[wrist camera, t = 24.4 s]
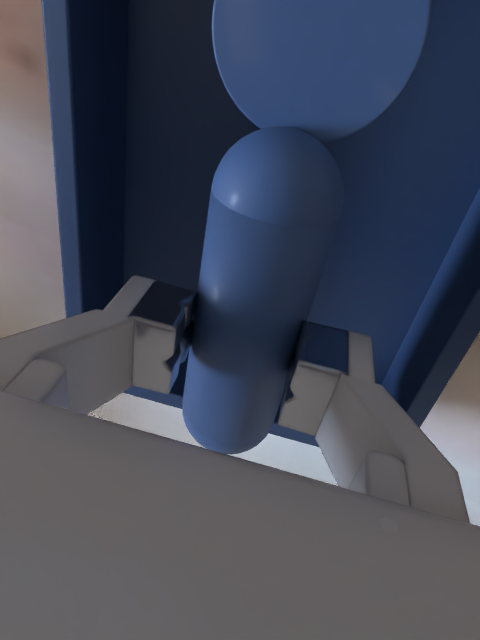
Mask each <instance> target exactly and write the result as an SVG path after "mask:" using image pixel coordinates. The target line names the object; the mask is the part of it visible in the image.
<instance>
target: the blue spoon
mask: <svg viewBox="0 0 480 640" xmlns="http://www.w3.org/2000/svg"><path fill="white" fill-rule="evenodd" d="M431 7H432V0H214V4H213V11H212V42H213V48H214V55H215V59H216V63H217V67H218V70H219V73H220V76H221V78H222V81H223V83H224V86H225V87H226V89H227V91H228V93H229V95H230V97H231V98H232V100H233V101H234V103H235V104H236V105H237V107H238V108H239V109H240V110H241V112H242V113H243V114H244V115H245V116H246V117H247V118H248V119H249V120H250V121H251V122H253V123H254V124H255V125H256V126H257V127H259V128H261V129H260V130H257V131H253V132H252V133H250V134H248V135H246V136H244V137H243V138H241V139H240V140H238V141H237V142H236V143H235V144H234V145H233V146H232V147H231V148H229V150H228V151H227V153H226V154H225V155H224V157H223V158H222V159H221V161H220V164H219V166H218V168H217V170H216V172H215V174H214V178H213V182H212V187H211V194H210V202H209V209H208V217H207V224H206V231H205V239H204V246H203V253H202V261H201V268H200V276H199V283H198V290H197V292H198V300H197V308H196V312H195V314H194V320H193V321H194V330H193V337H192V343H191V346H190V349H189V357H188V364H187V371H186V379H185V386H184V394H183V401H182V407H183V417H184V421H185V424H186V426H187V428H188V430H189V432H190V433H191V435H192V436H193V437H194V438H195V440H196V441H197V442H198V443H199V444H201V445H202V446H203V447H205V448H207V449H209V450H212V451H216V452H219V453H223V454H238V453H242V452H245V451H248V450H250V449H252V448H253V447H255V446H257V445H258V444H259V443H260V442H261V441H262V440H263V439H264V438H265V437H266V436H267V434H268V433H269V431H270V430H271V428H272V425H273V423H274V420H275V417H276V414H277V411H278V408H279V405H280V402H281V399H282V396H283V393H284V385H285V380H286V375H287V371H288V368H289V364H290V361H291V358H292V355H293V353H294V351H295V349H296V345H297V339H298V336H299V333H300V330H301V326H302V323H303V320H305V321H307V318H308V315H309V312H310V309H311V306H312V303H313V300H314V297H315V294H316V291H317V287H318V284H319V281H320V278H321V275H322V272H323V269H324V266H325V263H326V260H327V257H328V253H329V250H330V247H331V244H332V241H333V238H334V235H335V232H336V229H337V226H338V223H339V219H340V216H341V212H342V207H343V202H344V186H343V181H342V176H341V172H340V169H339V167H338V165H337V162H336V160H335V158H334V157H333V156H332V154H331V153H330V152H329V150H328V149H327V148H326V146H324V145H323V144H322V143H329V142H333V141H337V140H341V139H343V138H346V137H348V136H351V135H353V134H355V133H357V132H359V131H361V130H362V129H364V128H366V127H367V126H369V125H370V124H371V123H373V122H374V121H376V120H377V119H378V118H379V117H380V116H382V115H383V114H384V113H385V112H386V111H387V110H388V109H389V108H390V107H391V106H392V105H393V103H394V102H395V101H396V100H397V99H398V98H399V96H400V95H401V94H402V92H403V91H404V89H405V88H406V86H407V85H408V83H409V82H410V80H411V78H412V76H413V74H414V72H415V71H416V69H417V66H418V64H419V61H420V59H421V57H422V54H423V51H424V47H425V44H426V41H427V37H428V32H429V26H430V21H431Z"/></svg>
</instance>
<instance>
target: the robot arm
mask: <svg viewBox="0 0 480 640" xmlns="http://www.w3.org/2000/svg"><path fill="white" fill-rule="evenodd" d="M197 300H198V292H196V291H193V290H189V289H185V288H182V287H178V286H175V285H171V284H168V283H164V282H161V281H156V280H154V279H150V278H146V277H142V276H138V275H135V276H132V277H131V278H130V279H129V280H128V282H127V283H126V284H125V285H124V286H123V287H122V289H121V290H120V291H119V292H118V293H117V294H116V296H115V297H114V298H113V299H112V300H111V301H110V303H109V304H108V305H107V306H106V307H105V308H104V310H99V309H95V310H91V311H88V312H85V313H82V314H78V315H75V316H72V317H69V318H65V319H62V320H59V321H56V322H52V323H49V324H46V325H43V326H40V327H36V328H33V329H30V330H27V331H23V332H20V333H17V334H14V335H10V336H7V337H4V338H1V339H0V640H480V526H477V525H473V524H470V521H469V517H468V513H467V509H466V505H465V501H464V496H463V492H462V488H461V484H460V480H459V476H458V472H457V471H456V469H455V468H454V467H453V466H452V465H451V464H450V463H449V461H448V460H447V459H446V458H445V457H444V456H443V455H442V453H441V452H440V451H439V450H438V449H437V448H436V446H435V445H434V444H433V443H432V442H431V441H430V440H429V438H428V437H427V436H426V435H425V434H424V433H423V432H422V430H421V429H420V428H419V427H418V426H417V425H416V424H415V422H414V421H413V420H412V419H411V418H410V417H409V416H408V414H407V413H406V412H405V411H404V410H403V409H402V407H401V406H400V405H399V404H398V403H397V402H396V401H395V399H394V398H393V397H392V396H391V395H390V394H389V393H388V391H387V390H386V389H385V388H384V387H383V386H382V385H380V384H377V383H375V373H374V361H373V348H372V338H371V336H370V335H366V334H362V333H357V332H353V331H348V330H343V329H339V328H335V327H330V326H326V325H322V324H318V323H313V322H309V321H305V320H303V323H302V326H301V330H300V333H299V336H298V339H297V345H296V349H295V351H294V353H293V355H292V358H291V361H290V364H289V368H288V371H287V375H286V380H285V385H284V390H285V393H284V396H283V399H282V402H281V408H280V414H279V420H278V425H280V426H284V427H287V428H290V429H294V430H297V431H300V432H303V433H307V434H310V435H313V436H316V437H315V439H316V441H317V443H318V445H319V447H320V449H321V451H322V453H323V455H324V457H325V459H326V461H327V463H328V465H329V467H330V469H331V472H332V474H333V476H334V478H335V480H336V482H337V484H338V486H335V485H332V484H328V483H325V482H321V481H318V480H314V479H311V478H307V477H304V476H300V475H297V474H293V473H290V472H286V471H283V470H279V469H276V468H272V467H269V466H265V465H262V464H258V463H255V462H251V461H248V460H244V459H241V458H237V457H234V456H230V455H226V454H223V453H219V452H216V451H212V450H209V449H205V448H202V447H198V446H195V445H191V444H187V443H184V442H180V441H177V440H173V439H170V438H166V437H163V436H159V435H156V434H152V433H148V432H145V431H141V430H138V429H134V428H131V427H127V426H124V425H120V424H117V423H113V422H110V421H106V420H102V419H99V418H95V417H92V416H88V415H86V414H88V413H90V412H91V411H93V410H94V409H96V408H98V407H99V406H101V405H103V404H104V403H106V402H108V401H109V400H111V399H113V398H114V397H116V396H118V395H119V394H121V393H122V392H124V391H126V390H127V389H129V388H131V385H133V386H137V387H141V388H145V389H149V390H153V391H157V392H161V393H165V394H169V392H170V390H171V388H172V386H173V384H174V382H175V380H176V378H177V376H178V372H179V365H180V364H181V363H183V362H184V361H185V359H186V357H187V355H188V352H189V349H190V346H191V343H192V337H193V330H194V321H193V319H192V318H193V316H194V314H195V312H196V308H197Z"/></svg>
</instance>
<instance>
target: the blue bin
mask: <svg viewBox="0 0 480 640" xmlns="http://www.w3.org/2000/svg"><path fill="white" fill-rule="evenodd" d="M213 4H214V0H42V13H43V25H44V38H45V51H46V64H47V77H48V90H49V103H50V116H51V128H52V141H53V154H54V167H55V180H56V193H57V206H58V219H59V231H60V244H61V257H62V270H63V283H64V296H65V309H66V318H69V317H72V316H75V315H78V314H82V313H85V312H88V311H91V310H95V309H99V310H104V308H105V307H106V306H107V305H108V304H109V303H110V301H111V300H112V299H113V298H114V297H115V296H116V294H117V293H118V292H119V291H120V290H121V289H122V287H123V286H124V285H125V284H126V283H127V282H128V280H129V279H130V278H131V277H132V276H135V275H138V276H142V277H146V278H150V279H154V280H156V281H161V282H164V283H168V284H171V285H175V286H178V287H182V288H185V289H189V290H193V291H196V292H197V290H198V283H199V276H200V268H201V261H202V253H203V246H204V239H205V231H206V224H207V217H208V209H209V202H210V194H211V187H212V182H213V178H214V174H215V172H216V170H217V168H218V166H219V164H220V161H221V159H222V158H223V157H224V155H225V154H226V153H227V151H228V150H229V148H231V147H232V146H233V145H234V144H235V143H236V142H237V141H238V140H240V139H241V138H243V137H244V136H246V135H248V134H250V133H252V132H253V131H257V130H260V129H261V128H259V127H257V126H256V125H255V124H254V123H253V122H251V121H250V120H249V119H248V118H247V117H246V116H245V115H244V114H243V113H242V112H241V110H240V109H239V108H238V107H237V105H236V104H235V103H234V101H233V100H232V98H231V97H230V95H229V93H228V91H227V89H226V87H225V86H224V83H223V81H222V78H221V76H220V73H219V70H218V67H217V63H216V59H215V55H214V48H213V42H212V11H213ZM322 144H323V145H324V146H326V148H327V149H328V150H329V152H330V153H331V154H332V156H333V157H334V158H335V160H336V162H337V165H338V167H339V169H340V172H341V176H342V181H343V186H344V202H343V207H342V212H341V216H340V219H339V223H338V226H337V229H336V232H335V235H334V238H333V241H332V244H331V247H330V250H329V253H328V257H327V260H326V263H325V266H324V269H323V272H322V275H321V278H320V281H319V284H318V287H317V291H316V294H315V297H314V300H313V303H312V306H311V309H310V312H309V315H308V318H307V321H309V322H313V323H318V324H322V325H326V326H330V327H335V328H339V329H343V330H348V331H353V332H357V333H362V334H366V335H370V336H371V338H372V348H373V361H374V373H375V383H377V384H380V385H382V386H383V387H384V388H385V389H386V390H387V391H388V393H389V394H390V395H391V396H392V397H393V398H394V399H395V401H396V402H397V403H398V404H399V405H400V406H401V407H402V409H403V410H404V411H405V412H406V413H407V414H408V416H409V417H410V418H411V419H412V420H413V421H414V422H415V424H416V425H417V426H418V427H419V428H420V426H421V425H422V423H423V421H424V420H425V418H426V417H427V415H428V413H429V412H430V410H431V409H432V407H433V405H434V404H435V402H436V401H437V399H438V397H439V396H440V394H441V393H442V391H443V389H444V388H445V386H446V385H447V383H448V381H449V380H450V378H451V376H452V375H453V373H454V372H455V370H456V368H457V367H458V365H459V364H460V362H461V360H462V359H463V357H464V356H465V354H466V352H467V351H468V349H469V348H470V346H471V344H472V343H473V341H474V340H475V338H476V336H477V335H478V333H479V331H480V0H432V7H431V21H430V26H429V32H428V37H427V41H426V44H425V47H424V51H423V54H422V57H421V59H420V61H419V64H418V66H417V69H416V71H415V72H414V74H413V76H412V78H411V80H410V82H409V83H408V85H407V86H406V88H405V89H404V91H403V92H402V94H401V95H400V96H399V98H398V99H397V100H396V101H395V102H394V103H393V105H392V106H391V107H390V108H389V109H388V110H387V111H386V112H385V113H384V114H383V115H382V116H380V117H379V118H378V119H377V120H376V121H374V122H373V123H371V124H370V125H369V126H367V127H366V128H364V129H362V130H361V131H359V132H357V133H355V134H353V135H351V136H348V137H346V138H343V139H341V140H337V141H333V142H329V143H322ZM192 319H193V320H194V316H193V318H192ZM188 357H189V352H188V355H187V357H186V359H185V361H184V362H183V363H181V364H180V365H179V372H178V376H177V378H176V380H175V382H174V384H173V386H172V388H171V390H170V392H169V394H165V393H161V392H157V391H153V390H149V389H145V388H141V387H137V386H133V385H131V388H129V389H127V390H126V391H124V392H123V393H127V394H130V395H134V396H137V397H141V398H145V399H148V400H152V401H155V402H159V403H163V404H166V405H170V406H173V407H177V408H180V409H183V407H182V401H183V394H184V386H185V379H186V371H187V364H188ZM284 393H285V390H284ZM284 393H283V396H284ZM283 396H282V399H283ZM282 399H281V402H282ZM281 402H280V405H279V408H278V411H277V414H276V417H275V420H274V423H273V425H272V428H271V430H270V431H269V433H270V434H274V435H277V436H281V437H284V438H288V439H292V440H295V441H299V442H302V443H306V444H310V445H313V446H317V447H319V445H318V443H317V441H316V439H315V437H316V436H313V435H310V434H307V433H303V432H300V431H297V430H294V429H290V428H287V427H284V426H280V425H278V420H279V414H280V408H281Z"/></svg>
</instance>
